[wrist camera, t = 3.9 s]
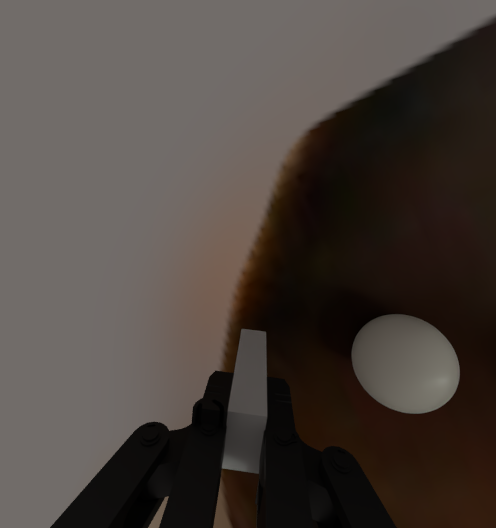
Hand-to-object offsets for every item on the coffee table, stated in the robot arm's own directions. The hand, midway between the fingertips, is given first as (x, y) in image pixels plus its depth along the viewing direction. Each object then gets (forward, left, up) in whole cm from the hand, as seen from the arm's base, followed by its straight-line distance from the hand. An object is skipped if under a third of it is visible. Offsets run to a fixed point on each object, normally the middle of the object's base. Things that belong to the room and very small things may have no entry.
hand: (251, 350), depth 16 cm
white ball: (-10, 0, -1) cm, 10 cm away
